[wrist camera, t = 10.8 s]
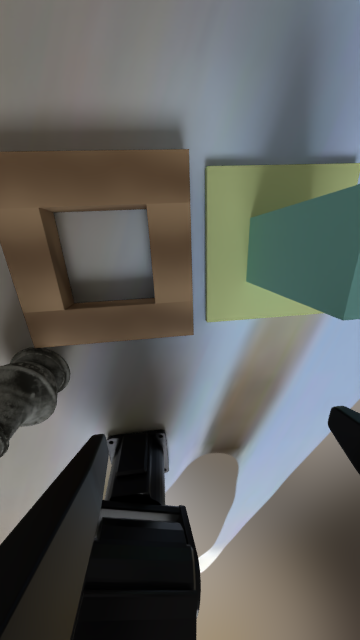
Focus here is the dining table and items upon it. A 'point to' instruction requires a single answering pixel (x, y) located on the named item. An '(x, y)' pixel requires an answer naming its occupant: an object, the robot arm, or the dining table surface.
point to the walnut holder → (96, 195)
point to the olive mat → (234, 223)
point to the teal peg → (310, 253)
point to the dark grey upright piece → (29, 390)
